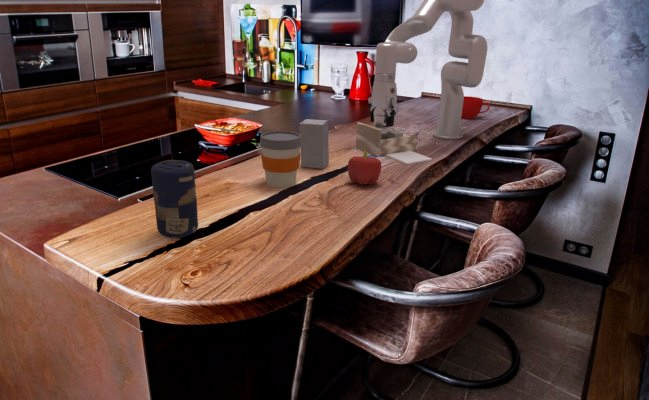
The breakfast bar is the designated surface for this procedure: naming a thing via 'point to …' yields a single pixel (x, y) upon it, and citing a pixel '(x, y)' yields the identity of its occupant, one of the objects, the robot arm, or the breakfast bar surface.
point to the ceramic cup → (472, 107)
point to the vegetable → (364, 169)
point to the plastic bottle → (381, 121)
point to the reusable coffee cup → (280, 157)
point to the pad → (408, 157)
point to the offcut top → (394, 133)
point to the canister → (175, 198)
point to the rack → (382, 141)
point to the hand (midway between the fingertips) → (381, 123)
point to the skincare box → (314, 143)
